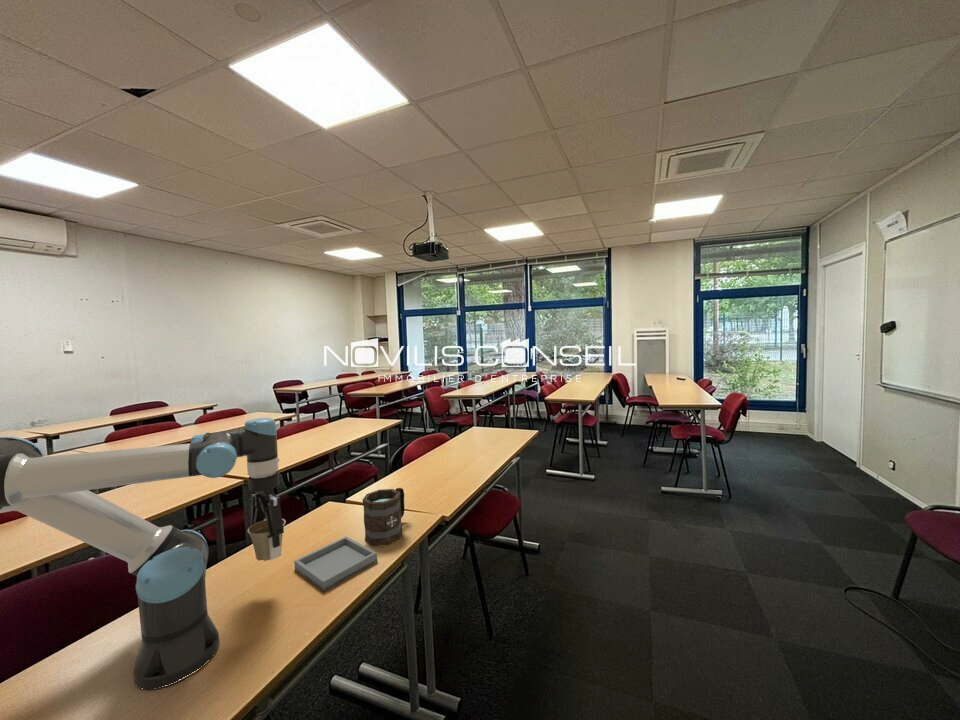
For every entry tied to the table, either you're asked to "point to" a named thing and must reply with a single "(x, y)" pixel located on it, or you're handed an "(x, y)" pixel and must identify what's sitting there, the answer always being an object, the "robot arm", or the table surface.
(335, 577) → the tray
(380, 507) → the mug
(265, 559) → the flower pot
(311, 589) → the table surface
